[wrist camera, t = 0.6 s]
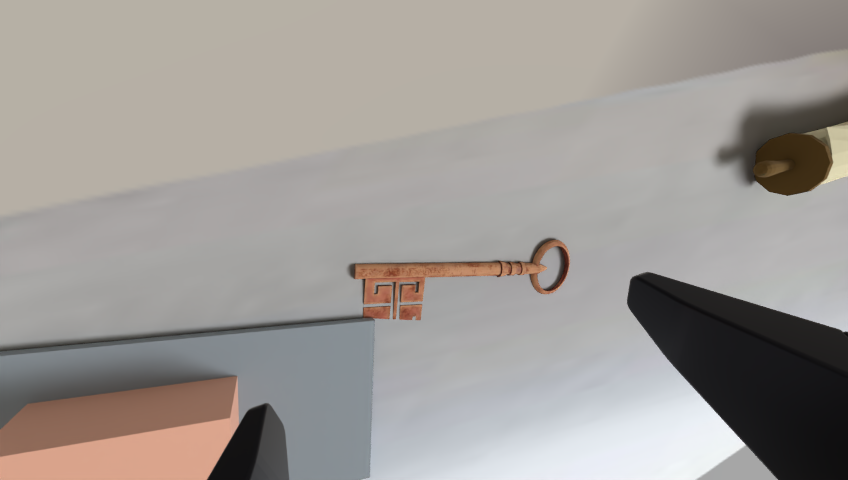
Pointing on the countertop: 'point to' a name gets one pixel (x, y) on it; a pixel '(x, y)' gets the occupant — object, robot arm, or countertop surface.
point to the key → (422, 270)
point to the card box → (123, 434)
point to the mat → (226, 357)
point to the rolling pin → (803, 160)
